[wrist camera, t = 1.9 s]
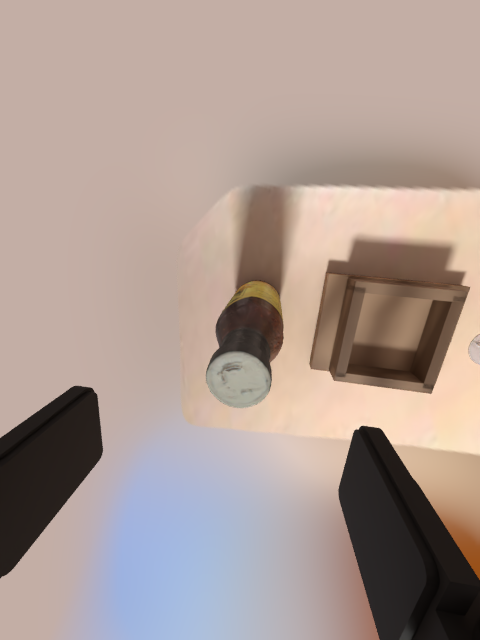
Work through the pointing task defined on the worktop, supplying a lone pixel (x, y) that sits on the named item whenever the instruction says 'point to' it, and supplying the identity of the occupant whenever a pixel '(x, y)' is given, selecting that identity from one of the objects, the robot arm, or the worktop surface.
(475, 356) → the wineglass
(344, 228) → the worktop surface
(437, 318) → the caddy
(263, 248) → the worktop surface
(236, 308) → the sauce bottle
